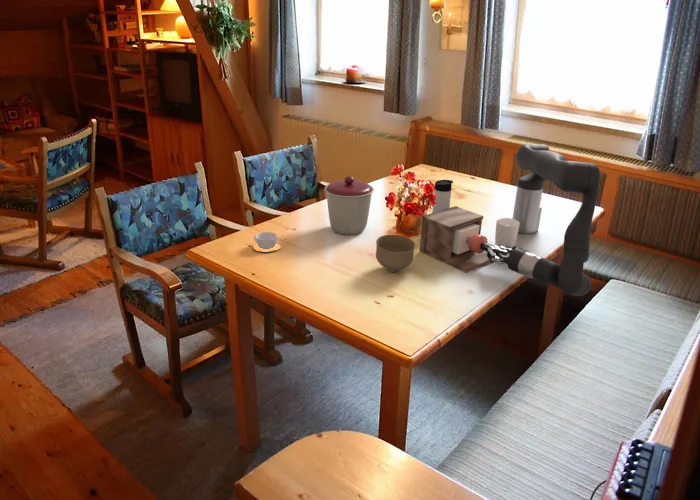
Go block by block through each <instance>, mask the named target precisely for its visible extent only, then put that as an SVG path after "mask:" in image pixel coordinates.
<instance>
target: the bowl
mask: <svg viewBox="0 0 700 500" xmlns="http://www.w3.org/2000/svg"><path fill="white" fill-rule="evenodd" d="M375 244H376V249H375V258H376V260H377V262H378V263H379V265H381V267H383V268H385V270H386V271H388V272H391V273H398V272H400V271H402V270H404V269H406V268H408V267H409V266H410V265H411V264H412V263H413V260H414V254H415V248H416V243H415V240H414V239H412V238H409V237H408V236H405V235H400V234H385V235H382V236H379V237H378V238H377V239H376V241H375Z"/></svg>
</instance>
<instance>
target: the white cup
mask: <svg viewBox="0 0 700 500" xmlns="http://www.w3.org/2000/svg"><path fill="white" fill-rule="evenodd" d="M495 223H496V224H495V237H494V245H497V246H498V244H501V245H511V246H516V243H517V238H518V229H519V224H520V223H519V221H517V220H515V219H513V218H511V217H510V218H509V217H501V218H497V219H496V222H495Z"/></svg>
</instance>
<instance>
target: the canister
mask: <svg viewBox="0 0 700 500" xmlns="http://www.w3.org/2000/svg"><path fill="white" fill-rule="evenodd" d="M374 189H375V188H374V187H373V186H372V185H370V184H369V183H367V182H365V181H362V180H359V179H358V180H356V179H355V178H354V177H353V176H352V175H348V176H345V177H344V179H340V180H335V181H332V182H330V183H329V184H327V185H325V187H324V192H326V193H325V194H326V201H327V211H328V219H329V223H330V227H331V229H332V230H333V231H334V232H335V233H337V234H340V235H358V234H360V233H362V232H364V230H365V229H366V227H367V224H368V220H369V214H370V207H371V200H372V193H374Z"/></svg>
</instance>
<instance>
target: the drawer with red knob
mask: <svg viewBox="0 0 700 500" xmlns="http://www.w3.org/2000/svg"><path fill="white" fill-rule="evenodd" d="M484 242H486V243H488V238H487V237H486V236H484V235H483V234H480V235H479V225H477V224H474V223H471V224H468V225H465V226H462V227H459V228H456V229H454V232H453V242H452V252H453V253H456V254H460V253H463V252H465V251H468V250H471V251H473V252H476V253H478V254H480V253H482V252H483V251H484V250H482V249H481V243H484Z"/></svg>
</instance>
